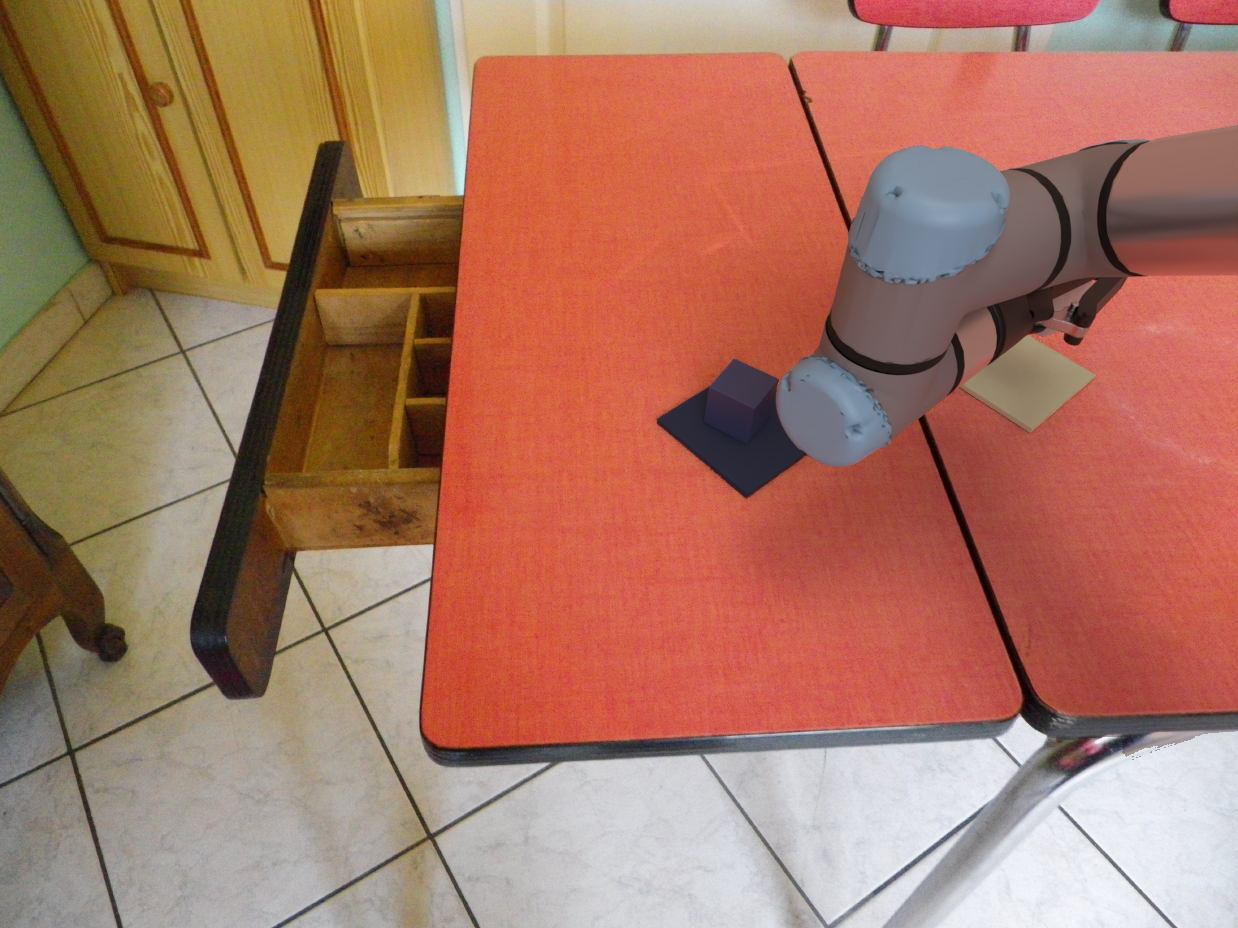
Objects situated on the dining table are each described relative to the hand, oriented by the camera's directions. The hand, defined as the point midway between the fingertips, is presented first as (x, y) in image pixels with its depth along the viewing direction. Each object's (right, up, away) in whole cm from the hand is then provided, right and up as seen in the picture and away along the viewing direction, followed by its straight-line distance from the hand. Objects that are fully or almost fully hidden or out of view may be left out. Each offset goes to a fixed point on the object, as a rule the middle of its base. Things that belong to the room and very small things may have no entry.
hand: (1116, 211), depth 71 cm
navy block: (-31, -17, +4) cm, 36 cm away
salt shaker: (-4, -9, +5) cm, 11 cm away
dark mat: (-31, -18, +4) cm, 36 cm away
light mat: (-4, -13, +10) cm, 16 cm away
